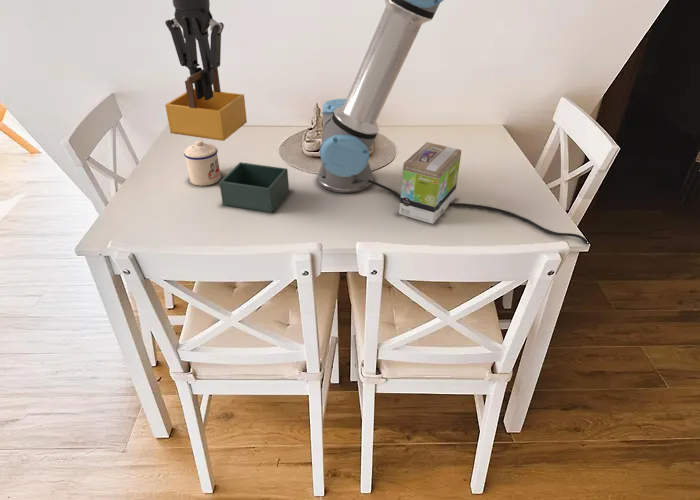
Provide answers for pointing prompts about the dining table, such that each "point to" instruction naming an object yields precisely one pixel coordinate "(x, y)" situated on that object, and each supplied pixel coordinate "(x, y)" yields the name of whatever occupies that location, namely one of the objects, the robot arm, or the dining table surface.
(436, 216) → the tea box
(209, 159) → the teacup with lid
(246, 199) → the green basket
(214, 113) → the ochre basket
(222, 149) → the dining table surface
